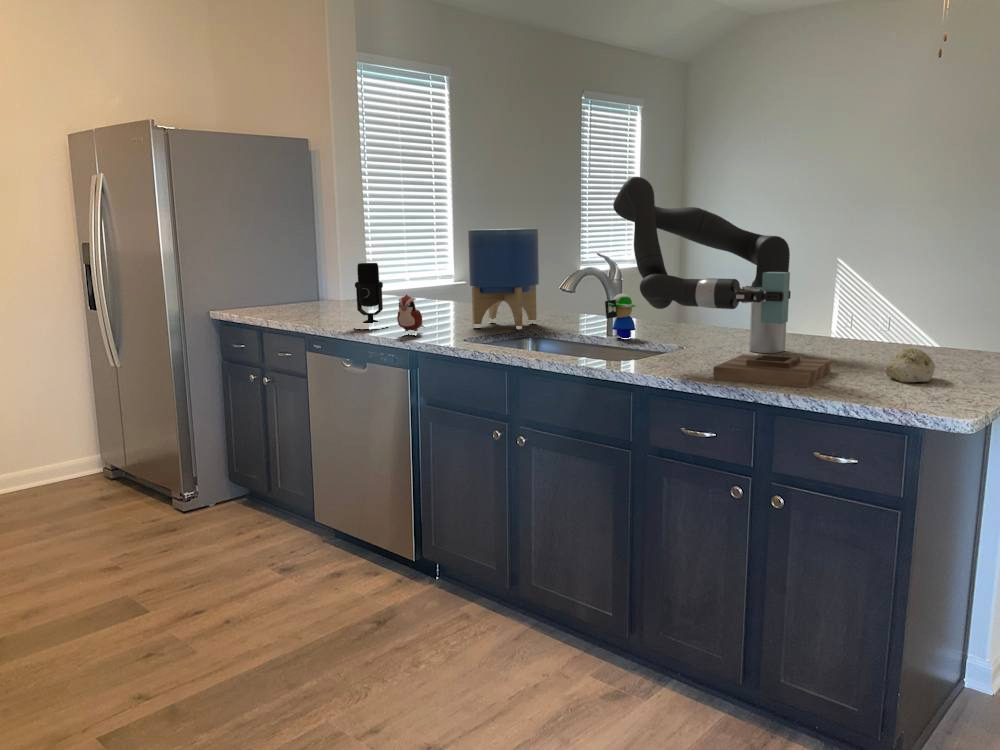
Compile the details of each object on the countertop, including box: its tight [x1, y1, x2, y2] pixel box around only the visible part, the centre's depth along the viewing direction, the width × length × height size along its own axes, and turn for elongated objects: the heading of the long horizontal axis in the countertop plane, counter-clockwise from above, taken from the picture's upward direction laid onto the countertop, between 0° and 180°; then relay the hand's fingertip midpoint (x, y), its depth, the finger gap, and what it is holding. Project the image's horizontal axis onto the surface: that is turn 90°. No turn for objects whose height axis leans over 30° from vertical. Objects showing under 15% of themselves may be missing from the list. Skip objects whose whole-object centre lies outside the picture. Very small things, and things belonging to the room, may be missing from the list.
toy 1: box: [396, 294, 426, 332], centre depth 288 cm, size 9×16×15 cm, turn 166°
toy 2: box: [604, 293, 636, 338], centre depth 266 cm, size 9×9×15 cm
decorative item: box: [884, 348, 936, 384], centre depth 189 cm, size 12×9×10 cm
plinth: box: [712, 353, 832, 388], centre depth 198 cm, size 22×22×4 cm
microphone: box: [354, 262, 384, 323], centre depth 312 cm, size 14×14×25 cm
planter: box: [467, 227, 540, 327], centre depth 305 cm, size 26×26×37 cm
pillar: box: [761, 271, 791, 324], centre depth 195 cm, size 5×5×12 cm
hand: (786, 295), depth 193 cm, fingers closed on pillar, 5 cm apart
